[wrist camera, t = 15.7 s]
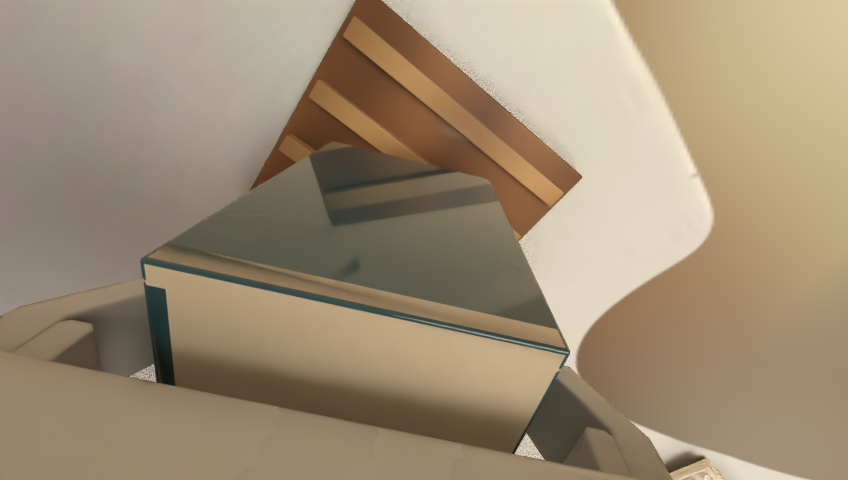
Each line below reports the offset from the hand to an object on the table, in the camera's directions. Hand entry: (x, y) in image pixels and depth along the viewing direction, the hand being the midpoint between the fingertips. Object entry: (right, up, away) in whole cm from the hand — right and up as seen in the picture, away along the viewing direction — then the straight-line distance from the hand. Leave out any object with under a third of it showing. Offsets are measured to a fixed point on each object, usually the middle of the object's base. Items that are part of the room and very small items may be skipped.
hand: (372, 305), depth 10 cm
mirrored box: (-1, -4, +3) cm, 5 cm away
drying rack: (0, +5, +10) cm, 11 cm away
